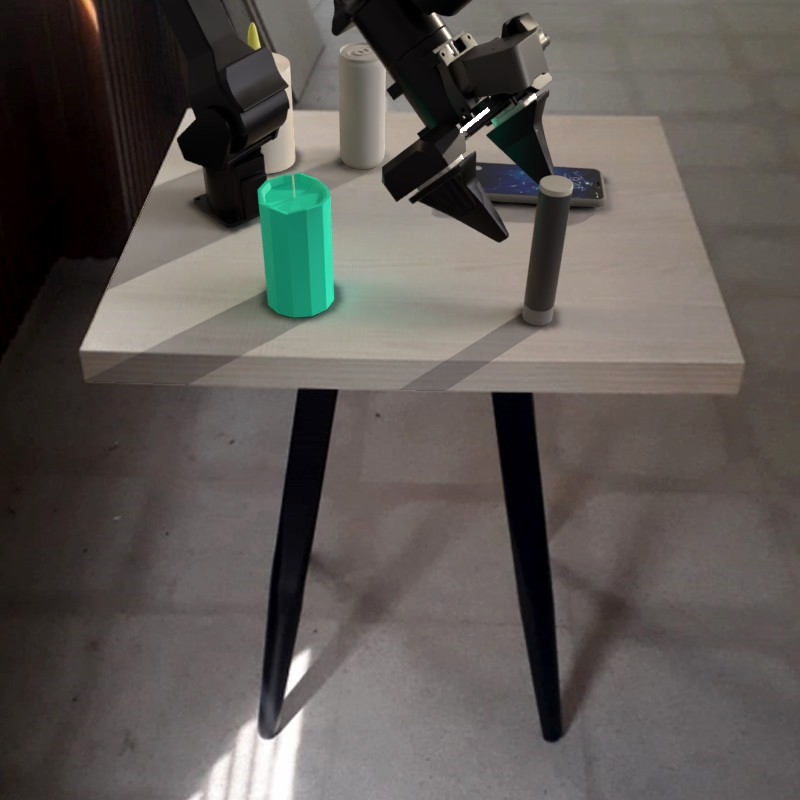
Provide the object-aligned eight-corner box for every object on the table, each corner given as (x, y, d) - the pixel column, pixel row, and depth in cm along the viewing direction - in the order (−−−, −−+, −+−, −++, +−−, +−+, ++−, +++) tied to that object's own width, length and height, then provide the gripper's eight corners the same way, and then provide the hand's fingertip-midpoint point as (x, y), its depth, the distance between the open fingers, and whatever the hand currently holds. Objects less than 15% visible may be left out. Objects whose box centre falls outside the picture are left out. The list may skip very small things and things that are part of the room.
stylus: (515, 315, 83) (532, 182, 74) (535, 304, 84) (554, 171, 76) (538, 329, 82) (558, 195, 73) (558, 317, 83) (580, 184, 74)
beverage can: (331, 159, 103) (327, 49, 95) (364, 145, 106) (364, 37, 98) (359, 176, 101) (359, 64, 93) (393, 161, 103) (395, 52, 95)
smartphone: (460, 159, 102) (602, 167, 101) (460, 167, 102) (600, 175, 102) (458, 193, 96) (608, 202, 95) (457, 202, 97) (606, 210, 96)
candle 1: (300, 146, 105) (293, 8, 95) (289, 175, 100) (280, 33, 90) (244, 142, 106) (231, 4, 96) (230, 171, 101) (214, 29, 91)
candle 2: (274, 275, 87) (264, 154, 79) (339, 280, 87) (335, 160, 78) (259, 314, 82) (247, 191, 74) (328, 320, 82) (323, 197, 74)
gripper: (420, 29, 62) (554, 224, 65) (543, -47, 74) (651, 122, 77) (326, 113, 71) (448, 283, 74) (450, 32, 82) (551, 182, 86)
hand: (530, 213), depth 77 cm, fingers open, 9 cm apart
